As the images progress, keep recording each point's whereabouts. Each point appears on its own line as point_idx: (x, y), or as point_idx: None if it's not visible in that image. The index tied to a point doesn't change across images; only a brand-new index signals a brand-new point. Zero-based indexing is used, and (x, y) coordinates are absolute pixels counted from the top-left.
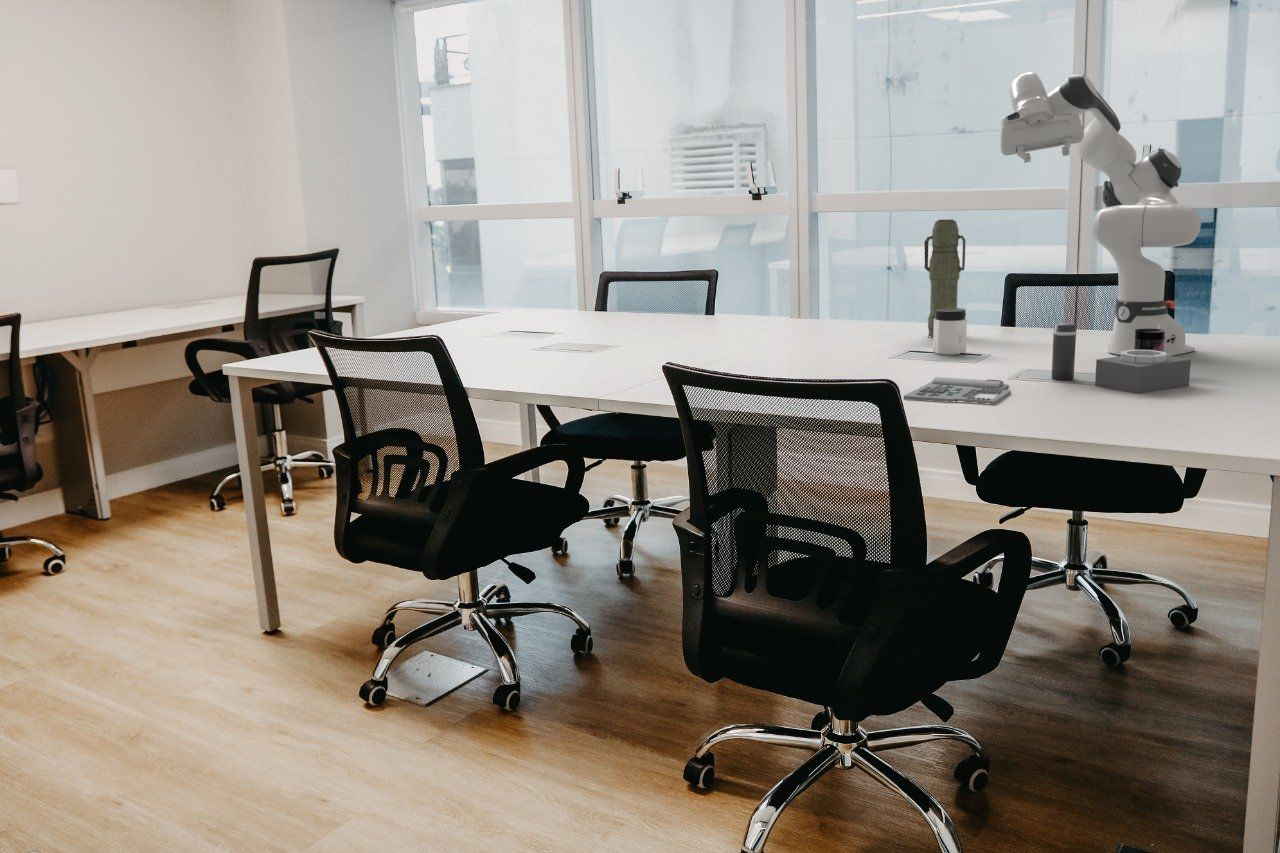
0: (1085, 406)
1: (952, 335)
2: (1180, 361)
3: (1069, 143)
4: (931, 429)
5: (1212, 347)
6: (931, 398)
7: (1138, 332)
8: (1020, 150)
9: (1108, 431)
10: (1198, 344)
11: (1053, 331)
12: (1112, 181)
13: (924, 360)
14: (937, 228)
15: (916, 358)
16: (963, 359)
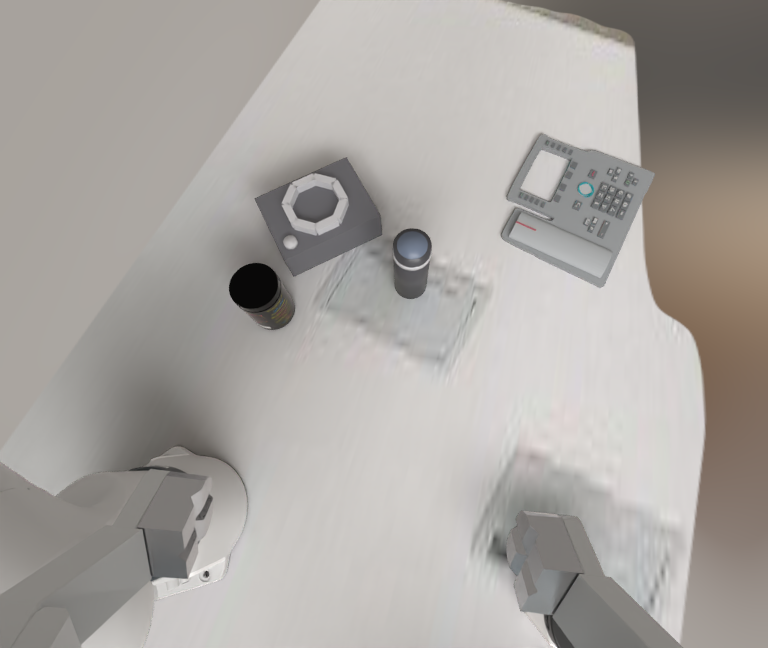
0: (436, 122)
1: None
2: (273, 190)
3: (69, 552)
4: (622, 41)
5: None
6: (617, 159)
7: (277, 278)
8: (658, 637)
9: (449, 26)
10: None
11: (431, 251)
12: None
13: (610, 495)
14: None
15: (626, 524)
16: (533, 494)
